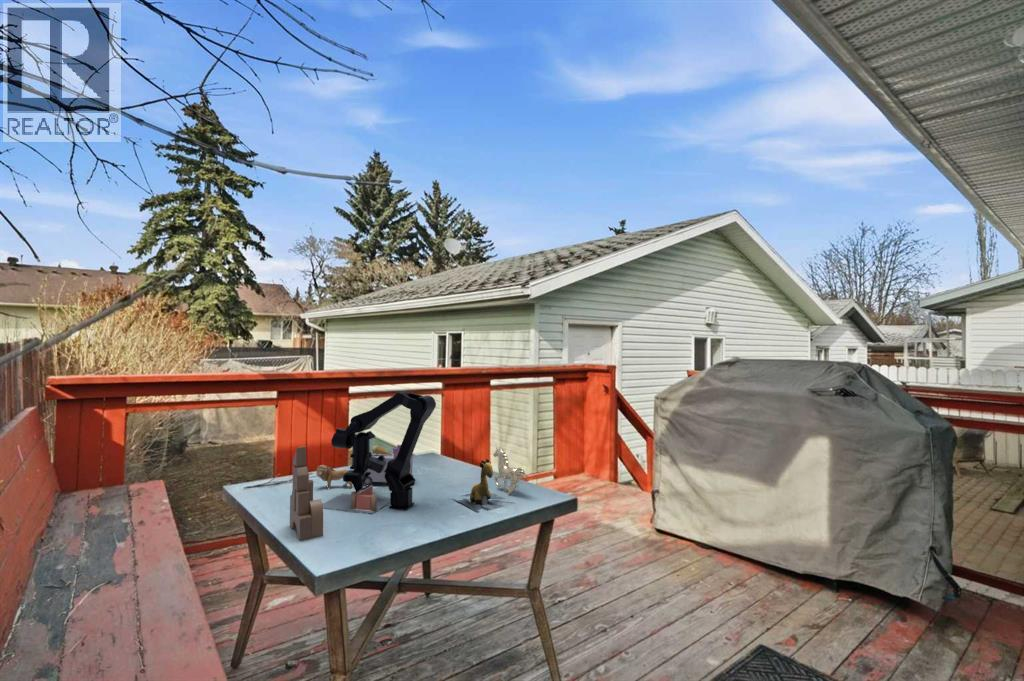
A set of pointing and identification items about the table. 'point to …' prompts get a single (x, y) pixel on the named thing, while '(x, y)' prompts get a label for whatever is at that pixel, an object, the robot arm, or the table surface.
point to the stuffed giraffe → (482, 491)
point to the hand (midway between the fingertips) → (359, 494)
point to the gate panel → (366, 490)
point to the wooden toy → (304, 501)
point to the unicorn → (507, 471)
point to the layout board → (344, 504)
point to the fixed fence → (363, 501)
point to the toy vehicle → (388, 456)
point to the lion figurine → (331, 475)
